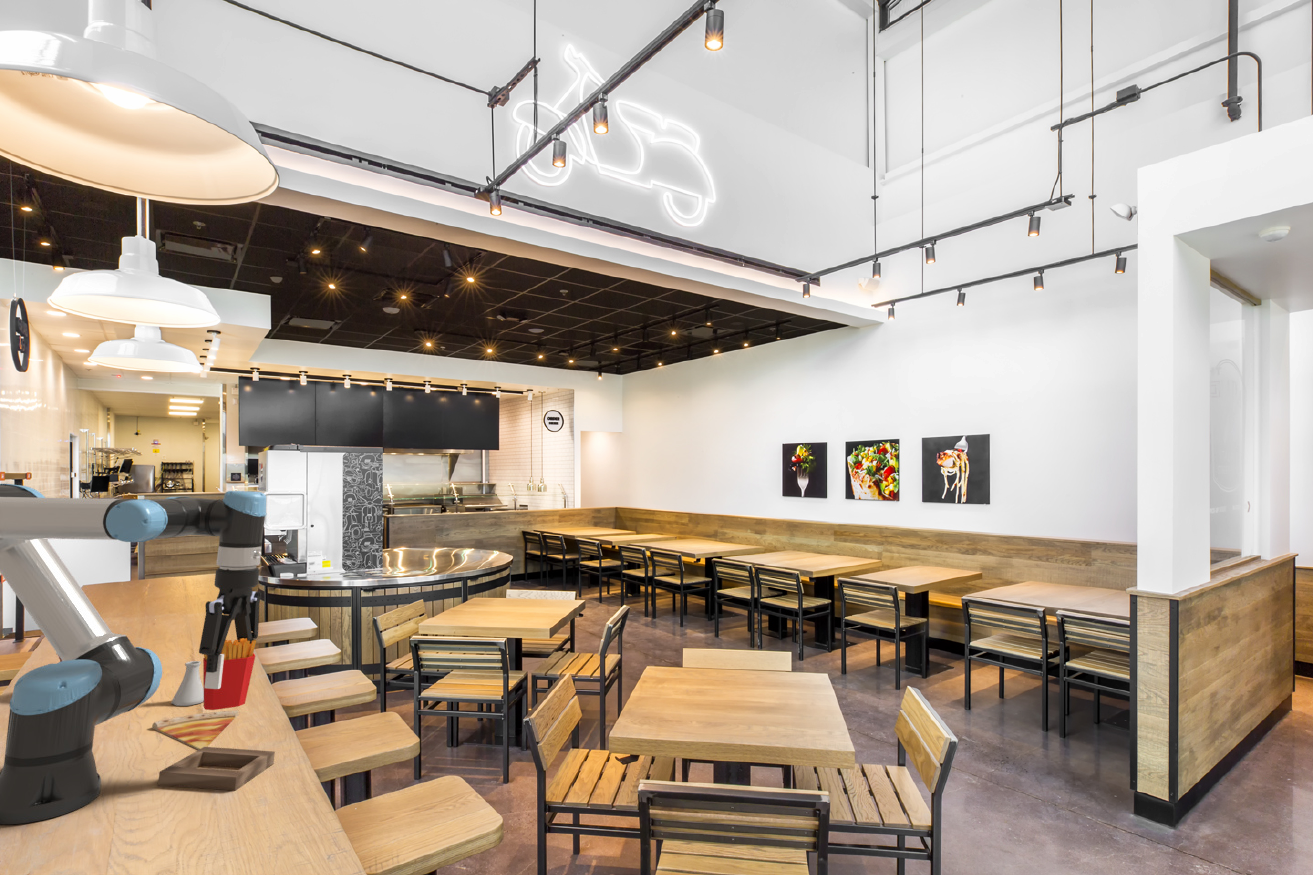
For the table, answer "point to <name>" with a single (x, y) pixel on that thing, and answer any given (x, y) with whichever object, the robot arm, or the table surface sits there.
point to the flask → (190, 686)
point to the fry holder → (194, 777)
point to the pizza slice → (197, 727)
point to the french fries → (231, 676)
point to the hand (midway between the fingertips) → (225, 682)
